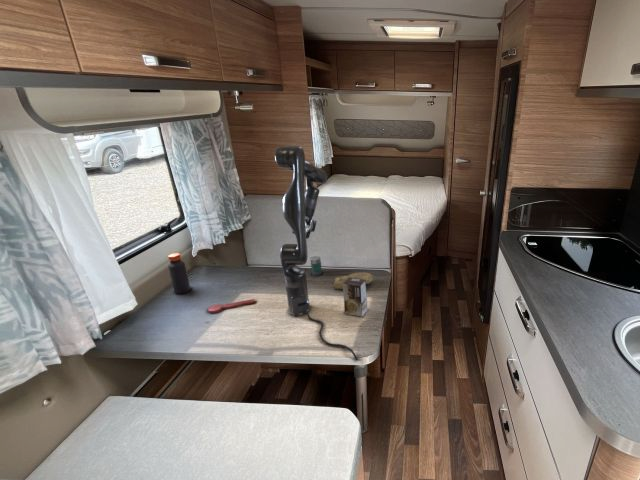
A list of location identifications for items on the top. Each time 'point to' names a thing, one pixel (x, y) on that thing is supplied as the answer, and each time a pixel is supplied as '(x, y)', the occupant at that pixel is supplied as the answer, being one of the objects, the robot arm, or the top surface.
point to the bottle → (178, 274)
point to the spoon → (228, 306)
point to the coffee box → (355, 296)
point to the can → (316, 265)
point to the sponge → (342, 279)
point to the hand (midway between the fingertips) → (300, 235)
